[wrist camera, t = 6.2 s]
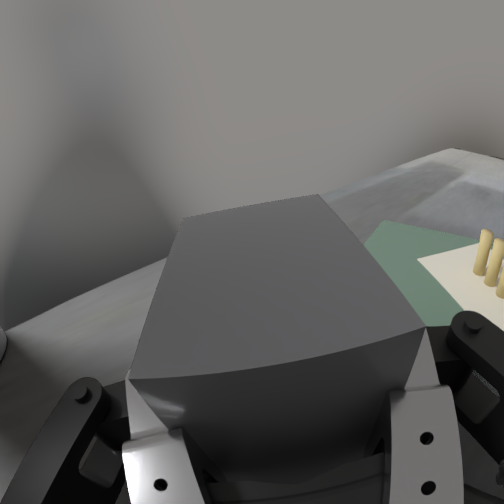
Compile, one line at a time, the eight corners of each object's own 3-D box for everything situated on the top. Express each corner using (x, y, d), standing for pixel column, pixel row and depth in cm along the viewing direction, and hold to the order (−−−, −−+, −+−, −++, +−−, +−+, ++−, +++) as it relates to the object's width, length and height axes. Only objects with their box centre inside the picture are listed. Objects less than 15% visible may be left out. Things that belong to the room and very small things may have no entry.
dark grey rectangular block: (356, 481, 8) (426, 326, 4) (242, 501, 8) (127, 379, 4) (324, 368, 14) (318, 194, 9) (236, 384, 14) (183, 218, 9)
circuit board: (317, 318, 17) (314, 253, 15) (382, 235, 24) (383, 187, 22) (591, 398, 4) (632, 340, 2) (572, 283, 11) (587, 235, 9)
